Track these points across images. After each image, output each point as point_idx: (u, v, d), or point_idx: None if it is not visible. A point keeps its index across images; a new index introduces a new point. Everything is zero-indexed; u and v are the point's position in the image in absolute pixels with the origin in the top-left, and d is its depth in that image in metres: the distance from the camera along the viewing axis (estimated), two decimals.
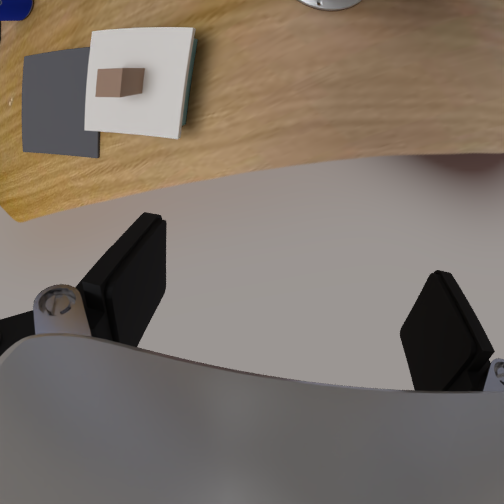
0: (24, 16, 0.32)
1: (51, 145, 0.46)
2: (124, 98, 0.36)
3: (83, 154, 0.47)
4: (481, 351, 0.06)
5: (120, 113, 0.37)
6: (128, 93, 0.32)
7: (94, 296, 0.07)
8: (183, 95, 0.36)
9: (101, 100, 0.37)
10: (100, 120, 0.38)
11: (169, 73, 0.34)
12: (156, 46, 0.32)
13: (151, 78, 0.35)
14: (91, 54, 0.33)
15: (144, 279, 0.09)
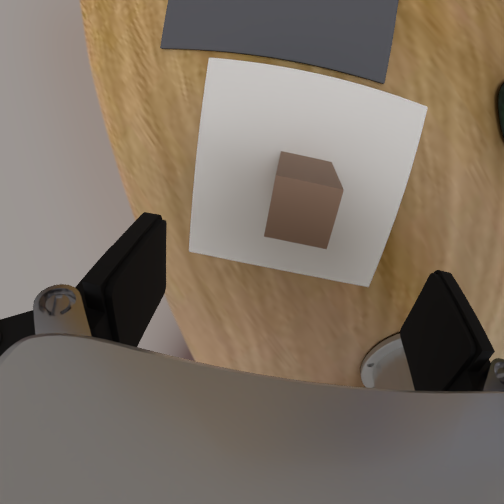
0: None
1: None
2: (266, 161, 0.21)
3: (169, 17, 0.21)
4: (481, 351, 0.06)
5: (236, 149, 0.21)
6: None
7: (94, 296, 0.07)
8: None
9: (270, 106, 0.19)
10: (226, 100, 0.19)
11: (300, 249, 0.24)
12: (354, 232, 0.23)
13: None
14: (379, 95, 0.18)
15: (144, 279, 0.09)
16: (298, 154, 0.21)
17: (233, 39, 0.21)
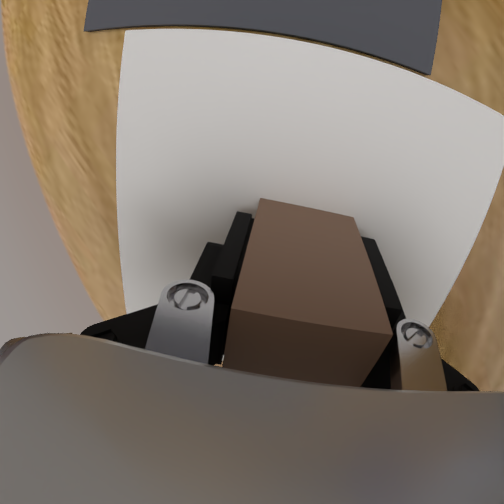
0: None
1: None
2: (234, 215, 0.12)
3: None
4: None
5: (180, 194, 0.12)
6: None
7: (222, 290, 0.08)
8: None
9: (237, 113, 0.10)
10: (157, 105, 0.10)
11: None
12: None
13: None
14: (445, 95, 0.08)
15: None
16: (292, 204, 0.11)
17: (187, 5, 0.12)
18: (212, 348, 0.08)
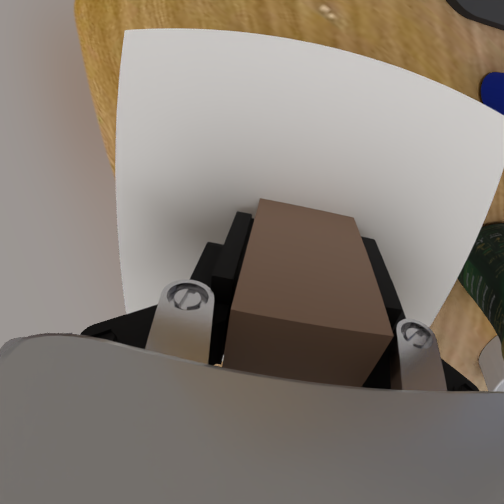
0: (484, 100, 0.22)
1: None
2: (234, 216, 0.12)
3: None
4: None
5: (179, 195, 0.12)
6: None
7: (222, 290, 0.08)
8: None
9: (237, 113, 0.10)
10: (156, 105, 0.10)
11: None
12: None
13: None
14: (445, 95, 0.08)
15: None
16: (292, 204, 0.11)
17: None
18: (212, 348, 0.08)
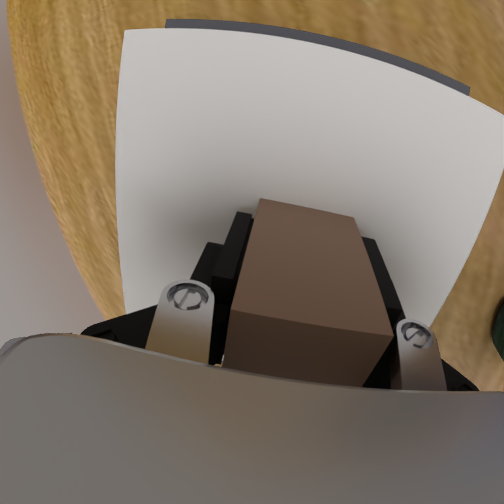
0: None
1: None
2: (234, 215, 0.12)
3: None
4: None
5: (179, 194, 0.12)
6: None
7: (222, 290, 0.08)
8: None
9: (237, 113, 0.10)
10: (156, 105, 0.10)
11: None
12: None
13: None
14: (445, 95, 0.08)
15: None
16: (292, 204, 0.11)
17: None
18: (212, 348, 0.08)
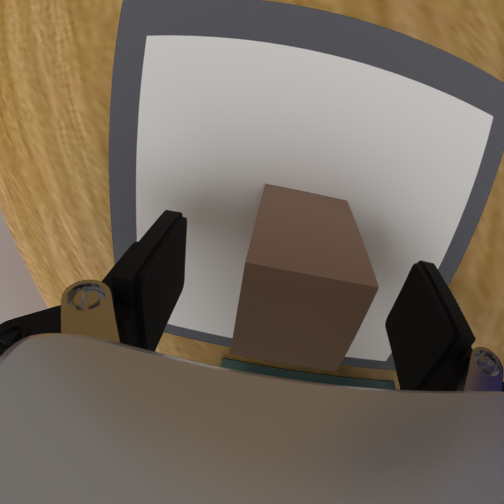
0: None
1: None
2: (242, 199, 0.13)
3: None
4: (461, 338, 0.07)
5: (194, 181, 0.13)
6: None
7: (123, 291, 0.07)
8: None
9: (246, 109, 0.11)
10: (175, 102, 0.12)
11: None
12: (375, 299, 0.15)
13: None
14: (426, 93, 0.10)
15: (167, 275, 0.09)
16: (293, 189, 0.13)
17: None
18: None
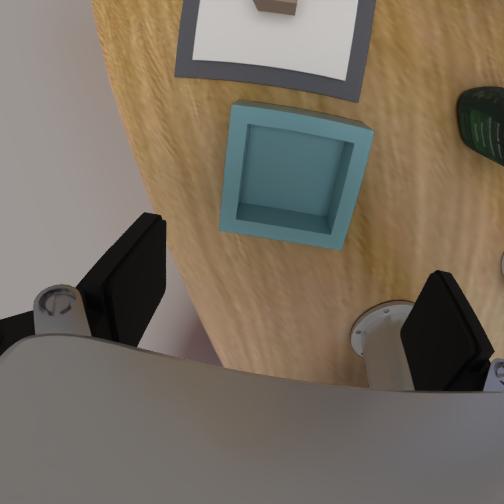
0: None
1: None
2: None
3: (180, 49, 0.27)
4: (481, 351, 0.06)
5: None
6: (257, 3, 0.20)
7: (94, 296, 0.07)
8: None
9: None
10: None
11: (283, 47, 0.25)
12: (324, 32, 0.24)
13: (279, 23, 0.24)
14: None
15: (144, 279, 0.09)
16: None
17: (235, 70, 0.28)
18: None
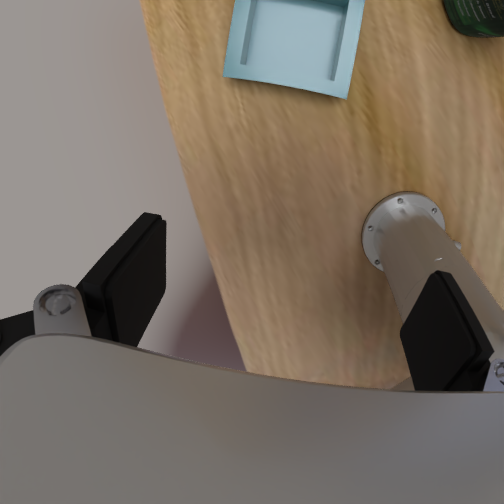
0: None
1: None
2: None
3: None
4: (481, 351, 0.06)
5: None
6: None
7: (94, 296, 0.07)
8: None
9: None
10: None
11: None
12: None
13: None
14: None
15: (144, 279, 0.09)
16: None
17: None
18: None
